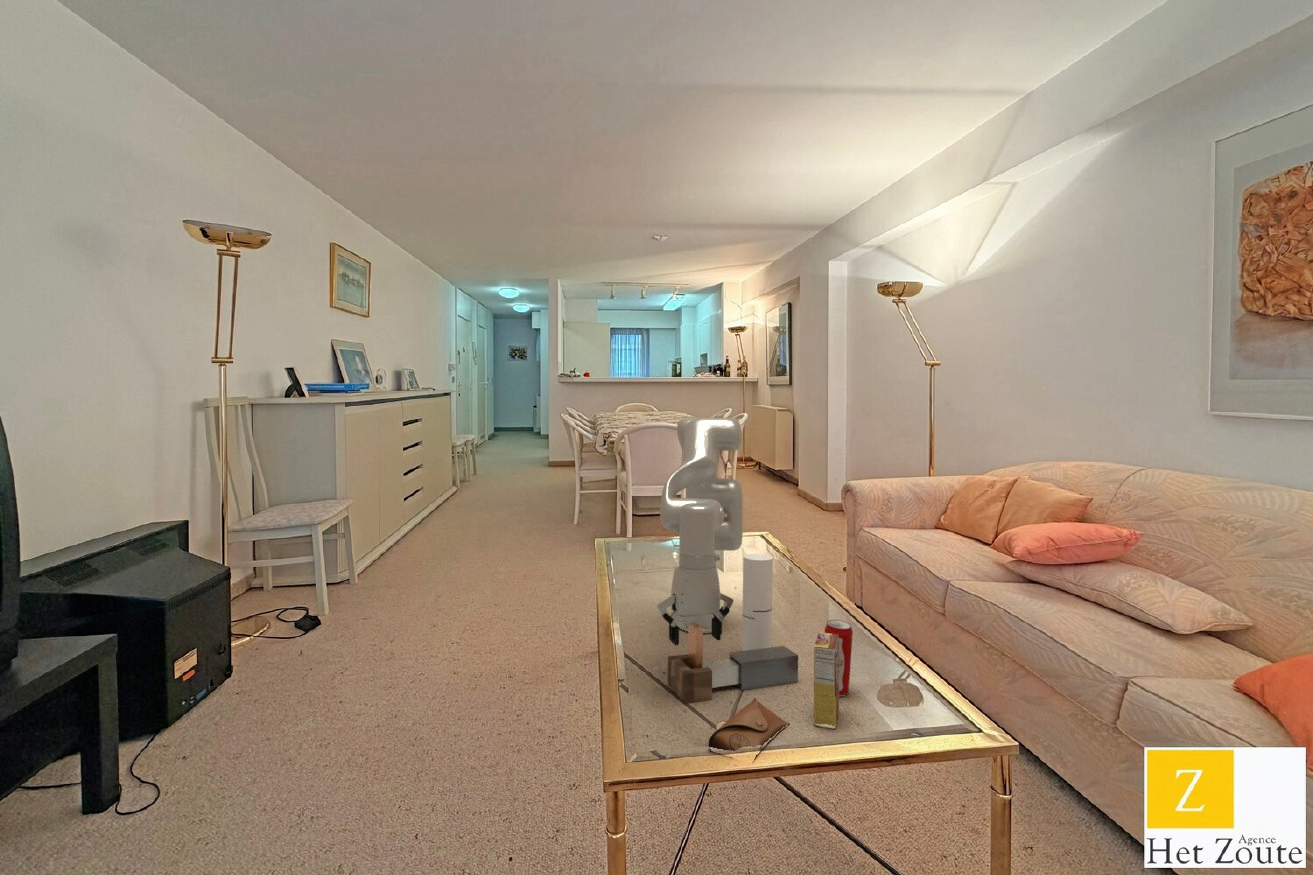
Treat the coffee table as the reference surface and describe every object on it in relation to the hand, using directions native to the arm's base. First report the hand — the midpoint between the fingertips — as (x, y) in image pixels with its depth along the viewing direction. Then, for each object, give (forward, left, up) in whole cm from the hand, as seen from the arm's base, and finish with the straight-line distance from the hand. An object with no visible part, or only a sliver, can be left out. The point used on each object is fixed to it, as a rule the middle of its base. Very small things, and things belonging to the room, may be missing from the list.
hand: (695, 640), depth 126 cm
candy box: (+19, +20, -11) cm, 30 cm away
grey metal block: (0, +17, -11) cm, 20 cm away
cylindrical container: (-12, +22, -11) cm, 27 cm away
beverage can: (+10, +29, -11) cm, 32 cm away
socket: (0, -1, -11) cm, 11 cm away
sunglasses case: (+21, +2, -11) cm, 24 cm away
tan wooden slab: (0, +6, -10) cm, 11 cm away
